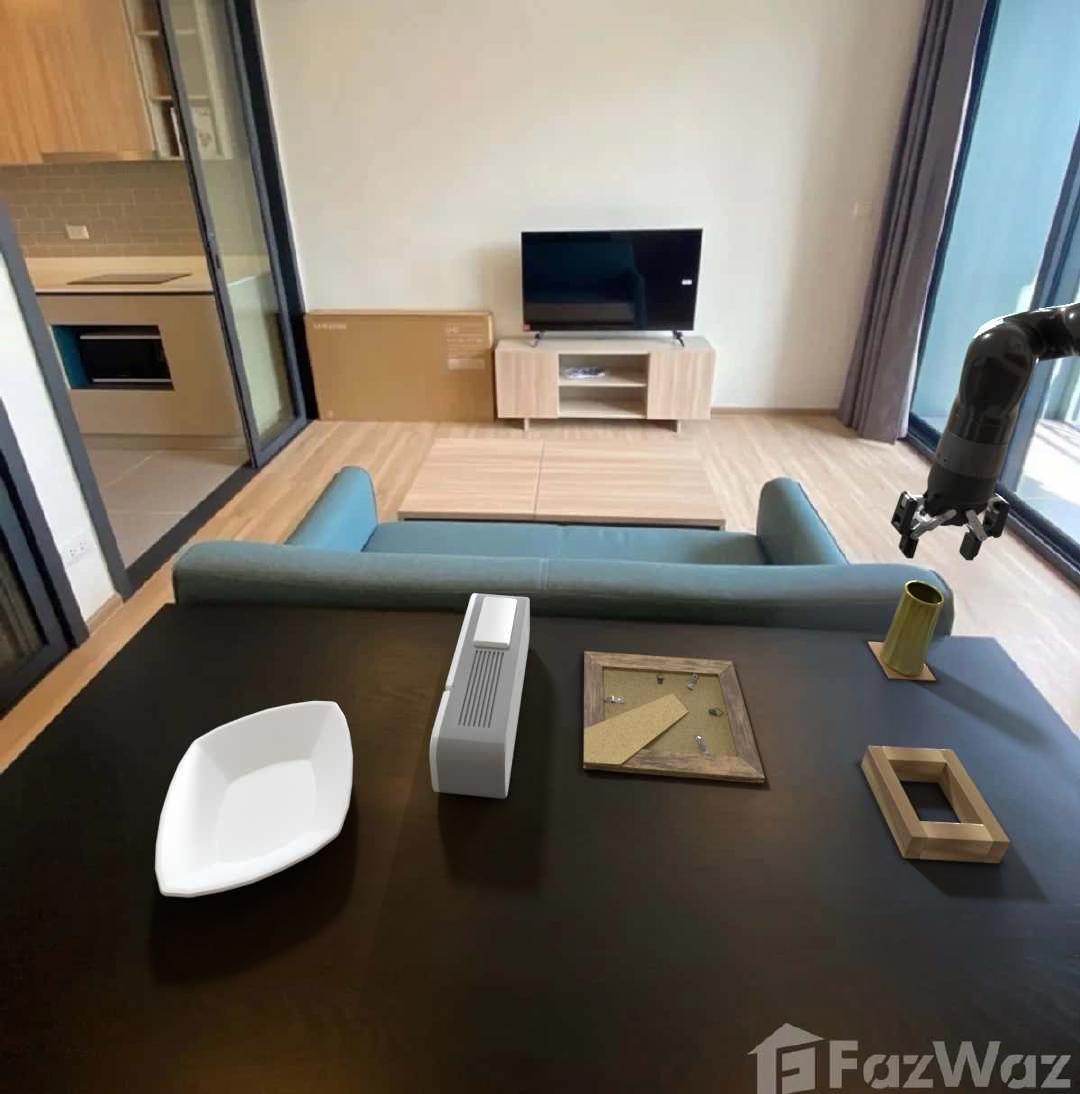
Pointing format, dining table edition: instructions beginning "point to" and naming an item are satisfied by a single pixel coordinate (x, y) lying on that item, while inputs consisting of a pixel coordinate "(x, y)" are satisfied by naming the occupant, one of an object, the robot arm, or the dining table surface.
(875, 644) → the coaster
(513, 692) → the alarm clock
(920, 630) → the vase
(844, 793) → the dining table surface
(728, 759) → the picture frame
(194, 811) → the bowl
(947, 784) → the holder
